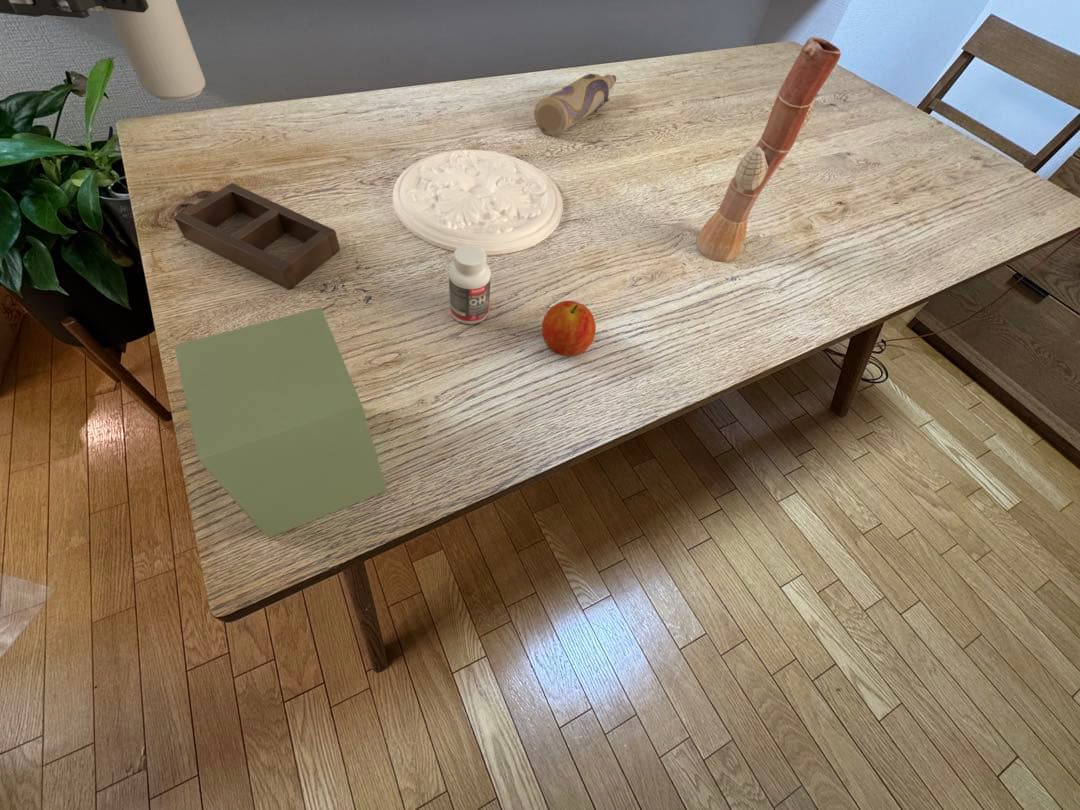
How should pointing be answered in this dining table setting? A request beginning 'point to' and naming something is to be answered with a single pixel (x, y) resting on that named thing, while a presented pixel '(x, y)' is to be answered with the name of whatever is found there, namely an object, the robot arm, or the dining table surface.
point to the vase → (768, 150)
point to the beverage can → (160, 50)
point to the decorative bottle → (572, 103)
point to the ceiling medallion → (477, 201)
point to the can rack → (258, 234)
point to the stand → (279, 420)
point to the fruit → (568, 328)
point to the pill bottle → (469, 285)
